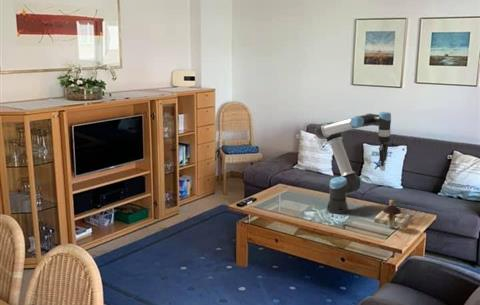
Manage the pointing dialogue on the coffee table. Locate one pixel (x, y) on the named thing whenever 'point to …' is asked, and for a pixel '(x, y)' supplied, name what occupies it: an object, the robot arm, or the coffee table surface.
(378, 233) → the coffee table surface
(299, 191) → the coffee table surface
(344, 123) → the robot arm
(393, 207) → the decorative mushroom
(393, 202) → the peg
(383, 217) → the board
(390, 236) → the coffee table surface
